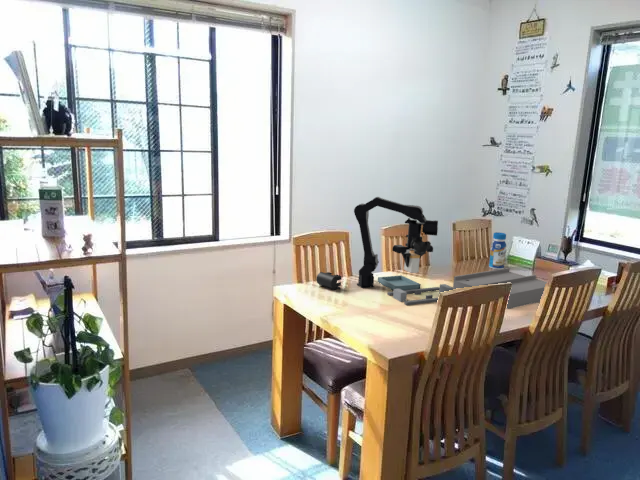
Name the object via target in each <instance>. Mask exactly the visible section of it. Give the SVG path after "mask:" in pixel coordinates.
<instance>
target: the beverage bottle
mask: <svg viewBox="0 0 640 480" xmlns="http://www.w3.org/2000/svg"><path fill="white" fill-rule="evenodd" d="M492 238H493V240H492V242H491V244H490V245H491V247H490V249H489V251H490V253H489V261H488V268H490V269H493V270H498V269H504V268H505V262H506V252H507V243H506V241H505V240H506V239H507V234H506V233H505V232H493V236H492Z"/></svg>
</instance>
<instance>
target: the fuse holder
mask: <svg viewBox="0 0 640 480" xmlns="http://www.w3.org/2000/svg"><path fill="white" fill-rule="evenodd" d="M436 290H439V292H438V293H439V294H441V293H440V292H444V291H449V290H453V286H450V285H449V284H446V283H442V284H441V283H440V284H439V286H433V287H425V288H420V289H412V290H401V289H394V291H393V290H392V291H387V293H386V294H387V295H388V296H391V297H392V298H393V299H395V300H397V301H398V302H399V303H401V302H402V303H403V302H404V304H403V305H405V306H414V305H420V304H430V303H438V302H437V300H438V297H434V295H433V294H426V295H425V298H422V299H413V300H407V296H408V295H410V294H414V295H415V296H416V295H422V293H429V292H428V291H431V292H437V291H436ZM453 291H454V290H453Z"/></svg>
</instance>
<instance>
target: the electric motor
mask: <svg viewBox="0 0 640 480" xmlns="http://www.w3.org/2000/svg"><path fill="white" fill-rule="evenodd" d="M341 280H342V276H341V275H340V274H333V273H332V272H330V271H327V272H323V271H320V272H319V273H318V274H317V275H316V283H317V285H319V286H321V287H324V288H326V289H329V290H333V291H337V290H340V289H341V286H342V282H341ZM338 281H340V282H338Z"/></svg>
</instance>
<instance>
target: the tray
mask: <svg viewBox="0 0 640 480" xmlns="http://www.w3.org/2000/svg"><path fill="white" fill-rule="evenodd" d="M378 282H379V283H378ZM377 283H378V284H380V283H381V284H380V285H382V286H384V287H386V288H387V289H390V290H392V291H394V289H401V290H412V289H421V283H419V282H417V281H414V280H413V279H410V278H408V277H406V276H404V275H402V274H401V275H390V276H378V277H377Z"/></svg>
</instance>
